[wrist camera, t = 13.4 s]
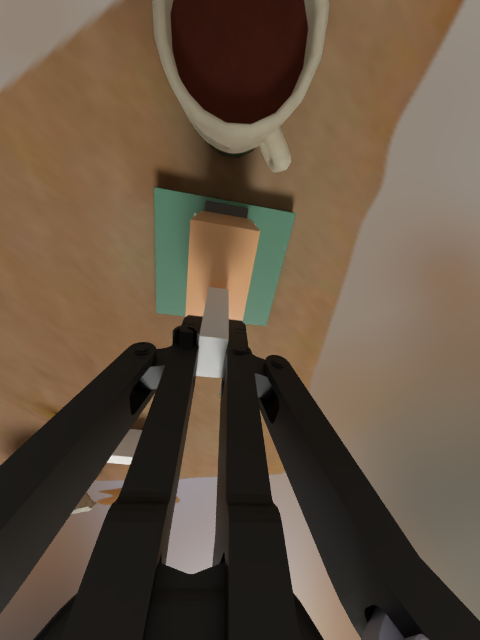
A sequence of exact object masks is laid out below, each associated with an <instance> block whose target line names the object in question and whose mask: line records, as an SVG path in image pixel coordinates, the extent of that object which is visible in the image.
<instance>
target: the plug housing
mask: <svg viewBox="0 0 480 640" xmlns="http://www.w3.org/2000/svg"><path fill="white" fill-rule="evenodd" d="M259 235H260V230H259V229H258V228H257V226H256V225H255V224H254V222H253V221H252V220H251V219H247V218H242V217H236V216H230V215H224V214H219V213H213V212H207V211H202V210H201V211H200V212H198V213H197V214H196V215H195V216H194V217H193V218H191V219H190V235H189V255H188V274H187V294H186V313H185V317H186V316H188V315H194V316H202V317H203V314H204V309H205V304H206V299H207V294H208V289H209V287H214V288H221V289H229V319H231V320H239V321H243V317H244V311H245V306H246V301H247V296H248V291H249V286H250V281H251V276H252V271H253V266H254V261H255V256H256V251H257V246H258V240H259Z"/></svg>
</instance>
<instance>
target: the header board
mask: <svg viewBox="0 0 480 640" xmlns="http://www.w3.org/2000/svg"><path fill="white" fill-rule="evenodd" d="M201 210H202V211H207V212H213V213H219V214H224V215H230V216H236V217H242V218H247V219H251V220H252V221H253V222H254V224H255V225H256V226H257V228H258V229H259V230H260V235H259V240H258V246H257V251H256V256H255V261H254V266H253V271H252V276H251V281H250V286H249V291H248V296H247V301H246V306H245V311H244V317H243V323H245V324H253V325H262V326H266V325H267V322H268V318H269V314H270V310H271V306H272V302H273V299H274V295H275V291H276V287H277V283H278V280H279V276H280V272H281V268H282V264H283V261H284V257H285V253H286V249H287V245H288V242H289V238H290V234H291V230H292V226H293V223H294V219H295V215H296V213H293V212H289V211H283V210H278V209H272V208H267V207H262V206H256V205H251V204H245V203H240V202H235V201H229V200H224V199H218V198H213V197H208V196H202V195H197V194H191V193H186V192H181V191H175V190H170V189H164V188H159V187H154V212H155V265H156V313H161V314H169V315H177V316H185V313H186V294H187V274H188V255H189V235H190V219H191V218H193V217H194V216H195V215H196V214H197V213H198V212H200V211H201Z"/></svg>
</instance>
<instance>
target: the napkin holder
mask: <svg viewBox="0 0 480 640" xmlns="http://www.w3.org/2000/svg"><path fill="white" fill-rule="evenodd" d="M141 433H142V430H136V429H130V430H129V431H128V433H127V434H126V435H125V437H124V438H123V440H122V441H121V443H120V444H119V445H118V447H117V448H116V450H115V451H114V453H113V454H112V456H111V457H110V458H109V460H108V461H107V463H117V464H128V465H130V464H131V461H132V458H133V455H134V453H135V450H136V447H137V444H138V441H139V438H140V436H141Z"/></svg>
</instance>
